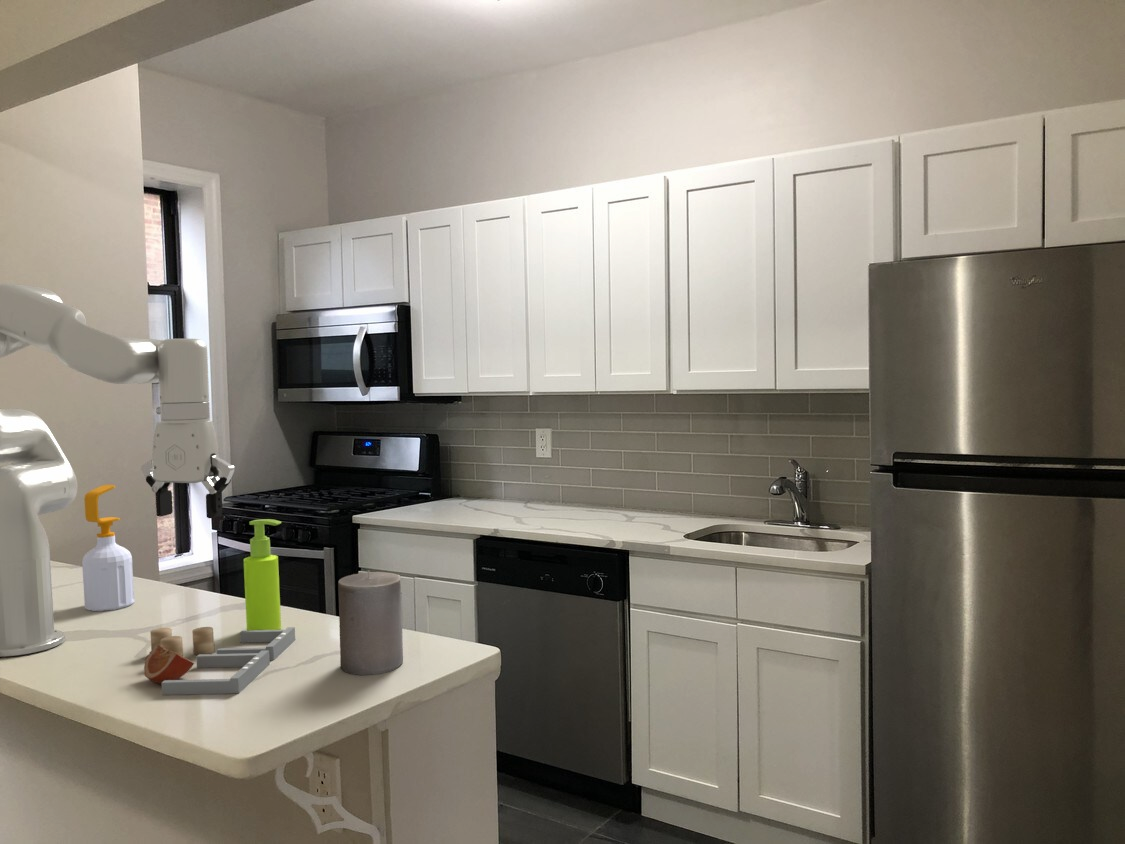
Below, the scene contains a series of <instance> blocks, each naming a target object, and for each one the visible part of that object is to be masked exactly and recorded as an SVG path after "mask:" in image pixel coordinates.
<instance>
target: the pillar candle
mask: <svg viewBox="0 0 1125 844" xmlns="http://www.w3.org/2000/svg"><path fill="white" fill-rule="evenodd" d="M401 581H402V578H401V575H399V574H396V573H392V572H385V571H375V572H374V571H372V572H371V571H370V570H367V572H361V573H353V574H351V575H350V574H349V575H346V576H344V577H341V578H340V579H339V580H338V583H337V587H338V588H337V589H338V590H337V591H338V611H339V612H338V615H339V617H338V618H339V619H338V621H339V649H340V651H339V652H340V653H339V654H340V655H339V657H340V660H339V662H340V669H341V670H342V671H343V672H345V673H348V674H350V675H360V676H362V675H363V676H370V675H371V674H372V675H380V674H383V673H389V672H391V671H394V670H396V669H398V668H399V667H400V666H401V665H402V663H404V646H403V641H404V640H403V613H402V612H403V611H402V587H401V586H402V584H401V583H402V582H401ZM388 671H389V672H388Z"/></svg>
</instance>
